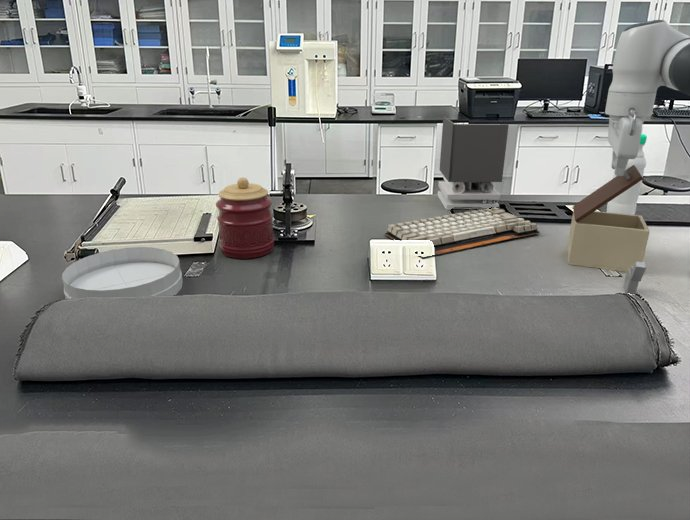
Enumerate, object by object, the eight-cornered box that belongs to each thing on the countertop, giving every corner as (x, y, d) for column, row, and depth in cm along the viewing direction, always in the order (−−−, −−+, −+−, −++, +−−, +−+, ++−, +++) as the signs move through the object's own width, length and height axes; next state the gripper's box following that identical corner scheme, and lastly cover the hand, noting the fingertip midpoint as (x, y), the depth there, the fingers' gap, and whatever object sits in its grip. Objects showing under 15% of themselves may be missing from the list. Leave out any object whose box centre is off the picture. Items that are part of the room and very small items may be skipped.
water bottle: (636, 228, 144) (658, 134, 134) (622, 233, 140) (643, 137, 131) (612, 221, 149) (631, 131, 140) (597, 225, 146) (616, 133, 136)
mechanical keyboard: (423, 258, 123) (423, 245, 122) (381, 234, 139) (381, 222, 137) (542, 235, 139) (543, 222, 138) (492, 215, 155) (493, 204, 153)
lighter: (623, 286, 110) (631, 250, 107) (632, 287, 109) (640, 251, 106) (627, 301, 103) (636, 263, 100) (637, 302, 103) (646, 264, 100)
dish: (166, 260, 122) (163, 240, 120) (197, 296, 104) (194, 273, 103) (59, 282, 111) (54, 260, 109) (74, 326, 93) (68, 301, 92)
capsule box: (632, 254, 126) (641, 215, 122) (639, 273, 116) (649, 231, 112) (566, 247, 131) (573, 209, 127) (568, 264, 120) (575, 223, 117)
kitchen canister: (247, 236, 137) (242, 168, 130) (285, 247, 130) (282, 176, 123) (208, 251, 127) (201, 179, 120) (247, 264, 120) (242, 188, 113)
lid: (635, 167, 119) (621, 150, 119) (643, 179, 109) (628, 160, 109) (575, 208, 127) (561, 192, 126) (577, 222, 117) (562, 205, 116)
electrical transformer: (446, 209, 159) (453, 124, 149) (435, 192, 177) (441, 115, 167) (498, 209, 159) (508, 124, 149) (483, 192, 177) (491, 115, 167)
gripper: (654, 112, 100) (640, 184, 105) (639, 101, 118) (627, 163, 123) (618, 111, 102) (605, 181, 107) (608, 100, 120) (597, 161, 125)
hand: (617, 171), depth 115 cm, fingers closed on lid, 5 cm apart
